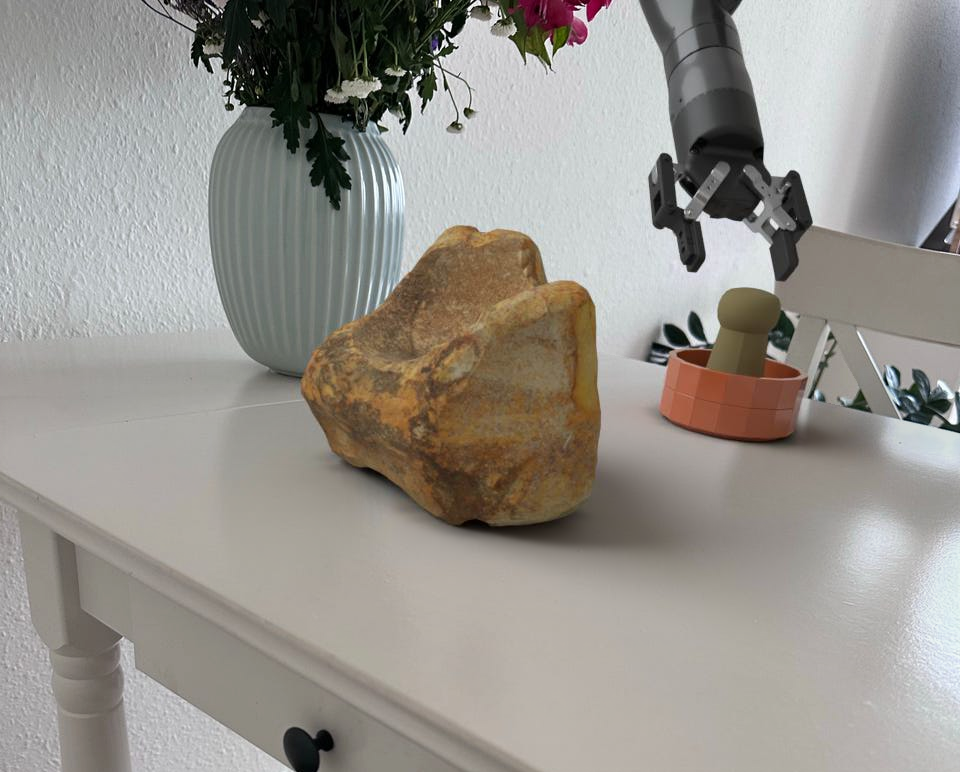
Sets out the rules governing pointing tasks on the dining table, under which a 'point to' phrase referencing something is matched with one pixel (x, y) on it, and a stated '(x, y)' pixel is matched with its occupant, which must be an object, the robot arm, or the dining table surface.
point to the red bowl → (731, 398)
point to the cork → (744, 331)
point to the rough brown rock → (469, 384)
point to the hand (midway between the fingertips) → (742, 271)
